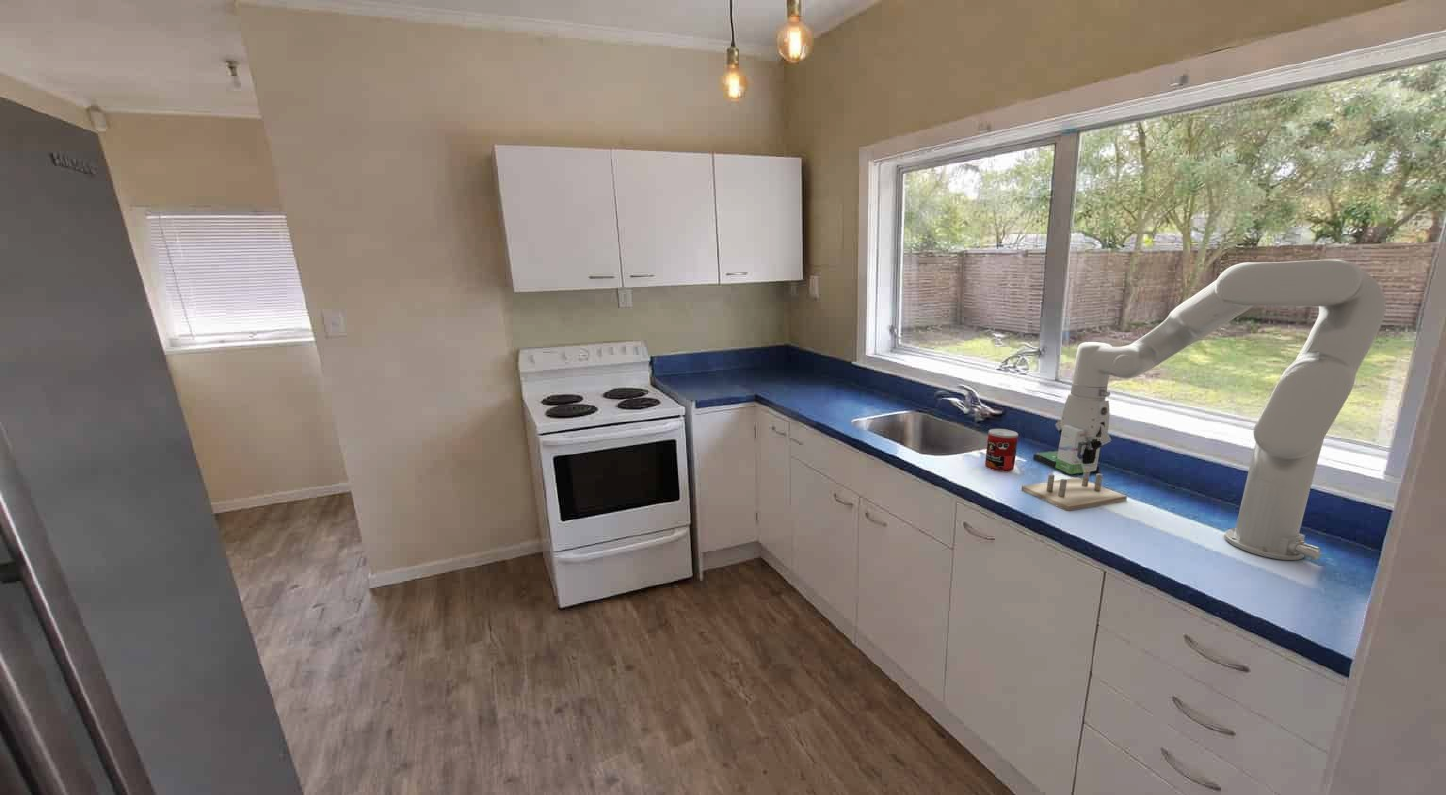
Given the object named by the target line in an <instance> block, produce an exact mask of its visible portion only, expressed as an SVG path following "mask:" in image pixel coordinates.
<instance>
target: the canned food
mask: <svg viewBox="0 0 1446 795" xmlns="http://www.w3.org/2000/svg"><path fill="white" fill-rule="evenodd" d="M1018 439H1019V433H1018V432H1016V431H1014V430H1010V429H1006V428H991V429H989V430H988V434H987V441H986V442H987V443H986V451H985V452H986V453H985V461H984V464H985V467H986V468H988V469H989V468H990V469H989V470H992V469H993V471H996V470H997V471H999V472H1010V471H1013V470H1014V468H1015V463H1016V456H1017V449H1018V448H1017V447H1018V441H1019V440H1018ZM997 471H996V472H997Z"/></svg>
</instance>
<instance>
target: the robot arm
mask: <svg viewBox="0 0 1446 795" xmlns="http://www.w3.org/2000/svg"><path fill="white" fill-rule="evenodd" d="M1386 305H1387V303H1386V298H1385V294H1384V291H1383V289H1382V287H1381V285H1380V283H1379V282H1378V281H1377V280H1376V279H1375V277H1373V276H1372V275H1371V274H1369V272H1367V271H1366V270H1364V269H1363V268H1361V267H1360V266H1359V265H1357V264H1355V263H1353V262H1351V261H1348V260H1345V259H1339V258H1337V259H1335V258H1334V259H1333V258H1332V259H1331V258H1330V259H1313V260H1293V261H1291V260H1290V261H1277V262H1276V261H1275V262H1274V261H1268V262H1267V261H1266V262H1240V263H1235V264H1234V265H1231V266H1229V267H1227V268H1226V269H1225V270H1223V271H1222V272H1221V273H1220V275H1219V276H1218V277H1217V279H1216V280H1214V281H1212V282H1211V283H1210V284H1209V285H1207V286H1205V287H1204V288H1203V289H1202V290H1200V291H1198V292H1197V293H1195V294H1194V295H1193V296H1190V297H1189V298H1188V299H1186V300H1184V301H1183V302H1182V303H1180V304H1179V305H1177V306H1175V307H1174V309H1172V311H1170V313H1169V315H1168V316H1167V317H1166V318H1165V319H1164V320H1163V321H1162V322H1161V323H1160V324H1158V325H1157V326H1156V327H1154V328H1153V329H1152V330H1150V331H1149V332H1147V333H1146V334H1145V335H1143V336H1141V337H1140V338H1138V339H1137V340H1135V341H1133V342H1132V343H1130V344H1127V345H1124V346H1113V345H1111V344H1109V343H1107V342H1100V341H1099V342H1098V341H1097V342H1095V341H1085V342H1082V343H1080V344H1078V346H1077V350H1076V357H1075V363H1074V369H1073V374H1072V383H1071V388H1070V393H1068V395H1067V397H1066V399H1065V400H1066V401H1065V404H1064V405H1063V410H1062V414H1061V418H1060V420H1058V421H1057V422H1056V423H1054V424H1055V428H1056V429H1057V430H1058V432H1059V434H1060V436H1061V433H1062V427H1063V426H1064V425H1070V426H1073V427H1075V428H1078V429H1081V430H1084V431H1085V437H1086V442H1087V449H1085V450H1084V456H1083V464H1091V463H1094V460H1095V456H1096V450H1097V449H1099V448H1100V449H1101V447H1103V446H1104V445H1106V444H1108V443H1111V442H1112V439H1111V437H1110V434H1109V433H1108V432H1109V425H1110V402H1109V399H1106V398H1107V397H1110V396H1111V392H1110V391H1109V390H1108V384H1109V381H1110V376H1113V377H1117V378H1121V379H1132V378H1136V377H1137V376H1140V375H1142V374H1144V373H1147V372H1149V371H1151V370H1152V369H1154V368H1156V367H1157V366H1159V365H1160V364H1161V363H1164V362H1165V361H1166V360H1168V359H1170V358H1171V357H1173V356H1174V355H1176V354H1177V353H1179V352H1181V351H1182V350H1184V349H1186V348H1187V347H1189V346H1191V345H1192V344H1194V343H1197V342H1198V341H1201V340H1202V339H1204V338H1205V337H1206V336H1208V335H1210V334H1212V333H1213V332H1215V331H1216V330H1218V329H1219V328H1221V327H1223V326H1224V325H1226V324H1228V323H1229V322H1231V321H1232V320H1234V319H1235V318H1237V317H1239V316H1240V315H1241V314H1244V313H1245V312H1247V311H1248V310H1250V309H1252V308H1253V307H1318V309H1319V310H1318V316H1317V319H1316V320H1315V323H1314V324H1313V326H1312V328H1311V330H1310V332H1309V335H1308V337H1307V339H1306V341H1305V343H1304V344H1303V346H1302V348H1301V350H1300V351H1299V353H1298V355H1297V357H1296V358H1295V360H1294V361H1293V362H1291V363H1290V364H1289V366H1287V368H1285V370H1284V371H1283V373H1282V374H1281V376H1280V378H1279V380H1278V381H1277V383H1276V386H1275V387H1274V389H1273V391H1272V393H1271V395H1270V397H1269V398H1268V401H1267V403H1266V404H1265V406H1264V408H1263V410H1262V412H1261V414H1260V416H1259V417H1258V419H1257V421H1256V423H1255V425H1254V427H1253V438H1254V441H1255V443H1254V444H1255V445H1254V448H1253V450H1252V451H1253V452H1252V455H1251V460H1250V465H1249V468H1248V472H1247V478H1246V481H1245V484H1244V490H1243V493H1242V494H1243V495H1242V498H1241V503H1240V507H1239V512H1238V515H1237V520H1236V524H1235V528H1230V529H1226V530H1225V531H1224V537H1223V538H1224V539H1225V540H1226V542H1228V543H1229V544H1231V545H1232V546H1235V547H1236V548H1238V549H1241V550H1242V551H1246V552H1248V553H1251V554H1254V555H1257V556H1261V557H1266V558H1270V559H1276V560H1282V561H1298V560H1301V559H1303V558H1304V557H1307V558H1309V559H1313V560H1315V561H1316V560H1317V561H1318V560H1319V559H1320V558H1321V554H1322V552H1321V548H1320V547H1319V546H1315V545H1313V544H1309V543H1307V542H1306V541H1305V537H1306V535H1305V534H1302V533H1300V531H1301V526H1302V522H1303V519H1304V515H1305V511H1306V507H1307V502H1308V499H1309V496H1310V492H1311V487H1312V485H1313V481H1314V477H1315V473H1316V468H1317V465H1318V461H1319V458H1320V454H1321V451H1322V448H1323V447H1322V446H1323V443H1324V440H1325V436H1326V435H1327V433H1328V432H1329V430H1330V429H1331V427H1332V426H1333V423H1334V422H1335V420H1336V419H1337V417H1338V415H1339V413H1340V411H1341V410H1342V408H1343V406H1344V405H1345V403H1346V402H1347V400H1348V398H1349V396H1350V394H1351V393H1352V391H1353V388H1354V386H1355V381H1356V375H1357V372H1358V371H1359V368H1360V366H1361V365H1362V363H1363V362H1364V360H1365V358H1366V356H1367V354H1368V352H1369V351H1370V348H1371V347H1372V345H1373V343H1374V341H1375V339H1376V337H1377V335H1378V333H1379V331H1380V329H1381V327H1382V324H1383V322H1384V318H1385V314H1386ZM1098 433H1099V434H1098ZM1098 437H1101V440H1099V438H1098ZM1092 439H1093V443H1092Z"/></svg>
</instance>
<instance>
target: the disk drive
mask: <svg viewBox="0 0 1446 795" xmlns="http://www.w3.org/2000/svg"><path fill="white" fill-rule="evenodd" d="M1057 456H1058V450H1055V451H1054V450H1053V451H1045V452H1043V451H1042V452H1035V453H1034V454H1033V456H1032V457H1033V460H1035V461H1037V462H1038V463H1041V464H1043V465H1046V466H1047V467H1050V468H1052V469H1053V470H1056V471H1058V472H1060V473H1062V474H1065V475H1067V476H1079V475H1080V476H1083V473H1084V472H1082V473H1075V474H1069V473H1067V472H1065V471H1062V470H1060V469H1058V468H1055V467H1056V462H1057ZM1099 472H1100V465H1098V464H1097V469H1096V471H1090V475H1093V474H1094V475H1096V474H1095V473H1097V474H1100V473H1099Z"/></svg>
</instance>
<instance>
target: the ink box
mask: <svg viewBox="0 0 1446 795" xmlns="http://www.w3.org/2000/svg"><path fill="white" fill-rule="evenodd" d="M1098 434H1099V433H1098ZM1098 438H1099V440H1101V437H1098ZM1092 443H1093V439H1092ZM1085 449H1087V442H1086V437H1085V431H1084V430H1081V429H1078V428H1075V427H1073V426H1070V425H1064V426H1063V427H1062V433H1061V435H1060V440H1059V444H1058V450H1057V451H1058V456H1057V462H1056V467H1055V468H1058V469H1060V470H1062V471H1065V472H1067V473H1069V474H1075V473H1082V472H1089V471H1096V469H1097V465H1098V463H1099V457H1100V451H1101V447H1100V448H1099V449H1097V450H1096V456H1095V460H1094V463H1091V464H1083V456H1084V450H1085Z"/></svg>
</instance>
